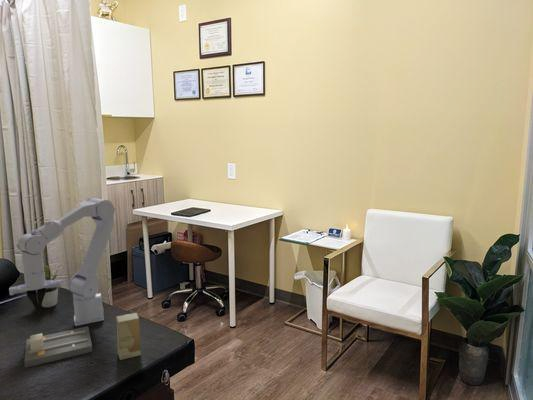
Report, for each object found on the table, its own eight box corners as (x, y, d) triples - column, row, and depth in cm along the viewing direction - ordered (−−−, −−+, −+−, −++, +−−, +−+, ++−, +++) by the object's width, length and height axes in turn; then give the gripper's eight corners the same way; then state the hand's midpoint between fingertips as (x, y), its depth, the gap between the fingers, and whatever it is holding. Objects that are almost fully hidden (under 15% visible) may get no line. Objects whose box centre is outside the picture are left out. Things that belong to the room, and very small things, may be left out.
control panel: (88, 331, 139) (88, 324, 138) (92, 351, 127) (91, 343, 126) (27, 345, 131) (26, 337, 130) (25, 367, 118) (24, 359, 118)
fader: (43, 341, 128) (42, 333, 128) (43, 348, 124) (42, 339, 124) (31, 344, 127) (30, 335, 126) (31, 351, 123) (29, 342, 122)
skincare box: (119, 360, 122) (116, 322, 119) (117, 353, 125) (114, 316, 123) (142, 355, 124) (139, 317, 122) (139, 348, 128) (136, 311, 126)
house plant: (18, 306, 159) (13, 265, 156) (54, 293, 170) (50, 256, 167) (37, 315, 151) (32, 273, 148) (73, 302, 162) (69, 262, 159)
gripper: (59, 263, 138) (63, 301, 140) (8, 271, 131) (13, 310, 134) (59, 270, 131) (63, 310, 134) (6, 278, 125) (12, 319, 127)
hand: (38, 311), depth 133 cm, fingers closed
